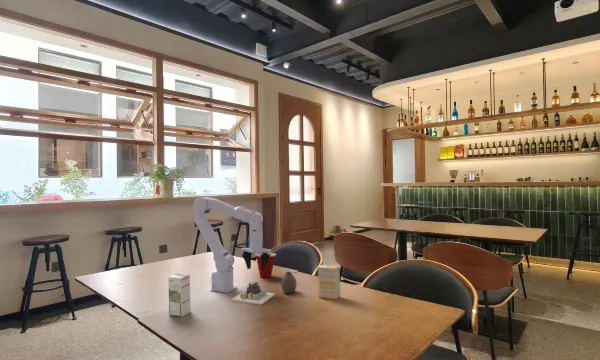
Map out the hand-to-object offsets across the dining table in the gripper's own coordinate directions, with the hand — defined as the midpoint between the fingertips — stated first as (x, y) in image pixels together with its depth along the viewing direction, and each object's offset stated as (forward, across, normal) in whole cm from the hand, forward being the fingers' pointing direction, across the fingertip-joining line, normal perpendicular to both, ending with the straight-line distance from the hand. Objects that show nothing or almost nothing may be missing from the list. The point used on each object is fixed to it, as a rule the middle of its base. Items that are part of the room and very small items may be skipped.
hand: (256, 269), depth 153 cm
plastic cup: (+10, -6, +21) cm, 24 cm away
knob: (+9, +4, -10) cm, 14 cm away
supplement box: (+10, +34, +1) cm, 35 cm away
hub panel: (+9, +4, -10) cm, 14 cm away
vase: (+10, +15, +2) cm, 18 cm away
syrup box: (+10, -14, -34) cm, 38 cm away
